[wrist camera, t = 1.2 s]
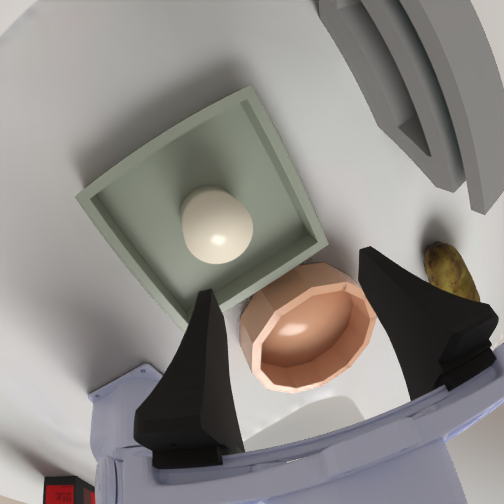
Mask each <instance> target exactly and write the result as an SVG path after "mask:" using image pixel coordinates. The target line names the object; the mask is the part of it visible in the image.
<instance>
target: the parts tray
mask: <svg viewBox="0 0 504 504" xmlns="http://www.w3.org/2000/svg"><path fill="white" fill-rule="evenodd" d="M204 185H215V186H219V187H221V188H223V189H225V190H226V191H227V192H229V193H230V194H231V195H232V196H233V197H234V198H235V199H236V200H238V201H239V202H240V203H241V204H242V205H243V206H244V207H245V208H246V209H247V211H248V212H249V214H250V216H251V219H252V222H253V234H252V238H251V241H250V243H249V245H248V247H247V248H246V250H245V251H244V252H243V253H242V254H241V255H240V256H238V257H237V258H236V259H234V260H232V261H229V262H227V263H222V264H210V263H206V262H203V261H201V260H199V259H198V258H196V257H195V256H194V255H193V254H192V253H191V252H190V251H189V249H188V247H187V245H186V243H185V239H184V235H183V230H182V226H181V221H180V207H181V204H182V202H183V200H184V198H185V197H186V196H187V195H188V194H189V193H190V192H191V191H192V190H194V189H196V188H198V187H200V186H204ZM75 198H76V199H77V201H78V202H79V204H80V205H81V206H82V208H83V209H84V211H85V212H86V214H87V215H88V216H89V218H90V219H91V221H92V222H93V223H94V225H95V226H96V227H97V229H98V230H99V232H100V233H101V234H102V236H103V237H104V238H105V240H106V241H107V242H108V244H109V245H110V246H111V248H112V249H113V250H114V251H115V253H116V254H117V255H118V257H119V258H120V259H121V260H122V262H123V263H124V264H125V265H126V267H127V268H128V269H129V270H130V272H131V273H132V274H133V275H134V276H135V278H136V279H137V280H138V281H139V283H140V284H141V285H142V286H143V287H144V288H145V290H146V291H147V292H148V293H149V294H150V296H151V297H152V298H153V299H154V300H155V301H156V302H157V304H158V305H159V306H160V307H161V308H162V309H163V310H164V312H165V313H166V314H167V315H168V316H169V317H170V318H171V319H172V320H173V321H174V323H175V324H176V325H177V326H178V327H179V328H180V329H181V330H182V331H183V332H184V333H185V332H186V329H187V327H188V324H189V321H190V318H191V315H192V312H193V309H194V306H195V302H196V299H197V295H198V293H199V291H203V290H207V289H211V288H212V290H213V292H214V295H215V297H216V300H217V302H218V304H219V307H220V309H221V312H222V313H224V312H225V311H227V310H229V309H230V308H232V307H233V306H235V305H237V304H238V303H240V302H241V301H243V300H245V299H246V298H248V297H249V296H251V295H253V294H254V293H256V292H257V291H259V290H260V289H262V288H264V287H265V286H267V285H268V284H270V283H271V282H273V281H274V280H276V279H277V278H279V277H281V276H282V275H284V274H285V273H287V272H288V271H290V270H291V269H293V268H294V267H296V266H297V265H299V264H300V263H302V262H303V261H305V260H306V259H308V258H309V257H311V256H313V255H314V254H316V253H317V252H318V251H320V250H321V249H323V248H324V247H326V246H327V245H329V243H328V241H327V238H326V236H325V234H324V231H323V229H322V227H321V224H320V222H319V220H318V217H317V215H316V213H315V211H314V208H313V206H312V204H311V202H310V199H309V197H308V195H307V193H306V191H305V188H304V186H303V184H302V182H301V180H300V178H299V176H298V173H297V171H296V169H295V167H294V165H293V163H292V161H291V159H290V157H289V155H288V153H287V151H286V149H285V147H284V145H283V143H282V141H281V139H280V137H279V135H278V133H277V131H276V129H275V127H274V125H273V123H272V121H271V119H270V117H269V115H268V113H267V112H266V110H265V108H264V106H263V104H262V102H261V100H260V99H259V97H258V95H257V93H256V91H255V89H254V88H253V86H252V84H251V85H249V86H247V87H245V88H243V89H241V90H239V91H237V92H235V93H233V94H231V95H229V96H227V97H225V98H223V99H221V100H219V101H217V102H215V103H213V104H212V105H210V106H208V107H206V108H204V109H202V110H201V111H199V112H197V113H195V114H194V115H192V116H190V117H188V118H187V119H185V120H183V121H181V122H180V123H178V124H176V125H175V126H173V127H172V128H170V129H168V130H167V131H165V132H163V133H162V134H160V135H159V136H157V137H156V138H154V139H152V140H151V141H149V142H148V143H146V144H145V145H143V146H142V147H140V148H139V149H137V150H136V151H134V152H133V153H132V154H130V155H129V156H127V157H126V158H124V159H123V160H122V161H120V162H119V163H117V164H116V165H115V166H113V167H112V168H111V169H109V170H108V171H107V172H105V173H104V174H103V175H101V176H100V177H99V178H97V179H96V180H95V181H94V182H92V183H91V184H90V185H89V186H87V187H86V188H85V189H84V190H82V191H81V192H80V193H79V194H77V195H76V196H75Z"/></svg>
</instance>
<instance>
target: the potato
mask: <svg viewBox="0 0 504 504" xmlns="http://www.w3.org/2000/svg"><path fill="white" fill-rule="evenodd" d="M424 266H425V271H426V273H427V274H428V277H429V283H430V284H432V285H434V286H436V287H438V288H440V289H442V290H444V291H447V292H449V293H452V294H454V295H457V296H460V297H463V298H466V299H469V300H473V301H477V302H480V297H479V294H478V291H477V289H476V286H475V284H474V281H473V279H472V276H471V274H470V272H469V270H468V269H467V267H466V265H465V263H464V261H463V259H462V257H461V255H460V254H459V252H458V251H457V250H456V249H455V248H454V247H453V246H451V245H449V244H446V243H443V242H440V241H437V242H434V243H433V244H432V245H430V246H429V248H428V249H427V251H426V254H425V258H424Z"/></svg>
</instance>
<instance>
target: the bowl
mask: <svg viewBox="0 0 504 504" xmlns="http://www.w3.org/2000/svg"><path fill="white" fill-rule="evenodd" d="M376 318H377V315H376V313H375V312H374V310H373V308H372V307H371V305H370V303H369V302H368V300H367V298H366V297H365V294H364V292H363V290H362V288H361V286H360V285H359V284H358V283H357V282H356V281H354V280H353V279H352V278H351V277H350V276H348V275H347V274H345V273H343V272H342V271H340V270H338V269H336V268H334V267H332V266H330V265H329V264H327V263H325V262H322V263H313V264H305V265H297V266H296V267H294V268H293V269H291V270H290V271H288V272H287V273H285V274H284V275H282V276H281V277H279V278H277V279H276V280H274V281H273V282H271V283H270V284H268V285H267V286H265V287H264V288H262V289H260V290H259V291H257V292H256V293H255V294H254V296H253V297H252V299H251V301H250V302H249V304H248V305H247V307H246V309H245V310H244V312H243V313H242V315H241V316H240V346H241V348H242V351H243V353H244V355H245V358H246V360H247V363H248V365H249V367H250V370H251V372H252V373H253V374H254V375H255V376H256V377H257V379H258V380H259V381H260V382H261V383H262V384H263V385H264V386H265V387H266V388H267V389H268V390H274V391H281V392H287V393H298V392H302V391H305V390H309V389H312V388H316V387H319V386H323V385H325V384H326V383H328V382H329V381H331V380H332V379H334V378H335V377H337V376H338V375H340V374H341V373H343V372H344V371H345V370H347V369H348V368H350V367H351V365H352V364H353V363H354V362H355V360H356V359H357V358H358V357H359V355H360V354H361V353H362V352H363V350H364V349H365V348H366V346H367V345H368V344H369V341H370V338H371V335H372V332H373V328H374V325H375V321H376Z"/></svg>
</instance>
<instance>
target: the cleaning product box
mask: <svg viewBox="0 0 504 504" xmlns="http://www.w3.org/2000/svg"><path fill="white" fill-rule="evenodd" d="M43 504H96V503H95V487H94V486H92V485H90V484H89V483H87V482H85V481H84V480H82V479H80V478H79V477H77V476H65V477H45V479H44V492H43Z"/></svg>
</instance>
